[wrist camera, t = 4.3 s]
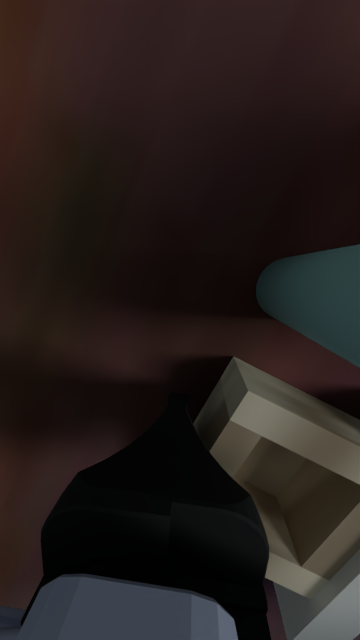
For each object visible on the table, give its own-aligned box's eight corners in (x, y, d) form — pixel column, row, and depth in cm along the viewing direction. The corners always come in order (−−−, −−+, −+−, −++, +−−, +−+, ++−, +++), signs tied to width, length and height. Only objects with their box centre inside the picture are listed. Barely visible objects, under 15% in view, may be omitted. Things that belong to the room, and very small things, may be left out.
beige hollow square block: (359, 419, 12) (426, 479, 8) (281, 516, 13) (310, 599, 10) (233, 356, 12) (248, 390, 8) (170, 461, 13) (160, 527, 10)
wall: (420, 404, 11) (538, 473, 7) (291, 553, 14) (327, 662, 10) (386, 387, 11) (486, 447, 7) (262, 540, 14) (288, 644, 10)
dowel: (333, 275, 10) (742, 279, 3) (297, 329, 11) (539, 465, 3) (276, 246, 10) (523, 160, 3) (244, 302, 11) (360, 375, 3)
